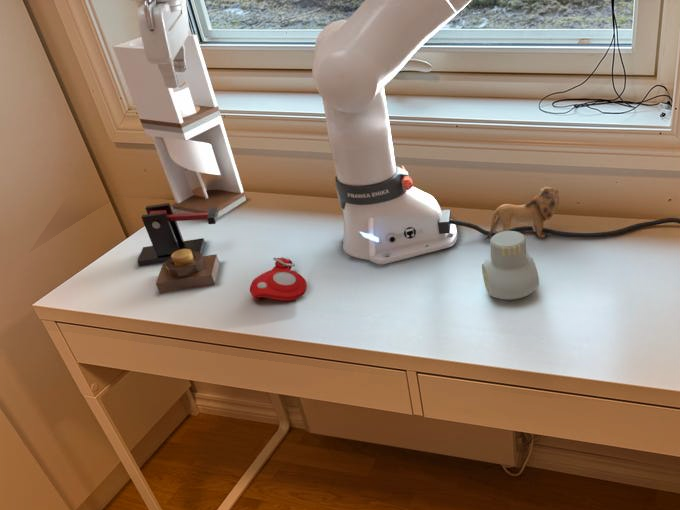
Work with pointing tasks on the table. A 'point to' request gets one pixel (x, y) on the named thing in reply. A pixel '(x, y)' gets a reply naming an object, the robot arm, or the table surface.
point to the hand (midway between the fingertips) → (176, 78)
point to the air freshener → (509, 267)
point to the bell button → (182, 257)
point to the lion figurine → (527, 212)
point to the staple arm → (193, 215)
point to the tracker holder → (279, 282)
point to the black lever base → (164, 237)
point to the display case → (184, 129)
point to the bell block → (188, 273)
